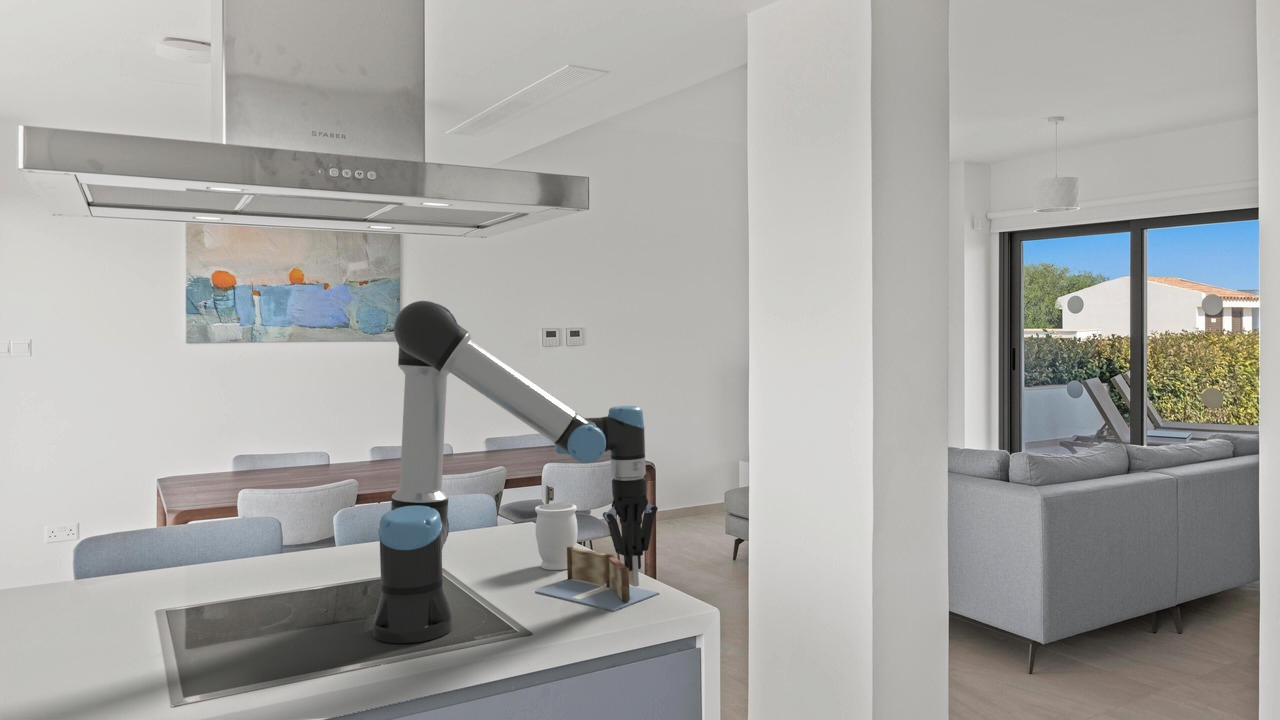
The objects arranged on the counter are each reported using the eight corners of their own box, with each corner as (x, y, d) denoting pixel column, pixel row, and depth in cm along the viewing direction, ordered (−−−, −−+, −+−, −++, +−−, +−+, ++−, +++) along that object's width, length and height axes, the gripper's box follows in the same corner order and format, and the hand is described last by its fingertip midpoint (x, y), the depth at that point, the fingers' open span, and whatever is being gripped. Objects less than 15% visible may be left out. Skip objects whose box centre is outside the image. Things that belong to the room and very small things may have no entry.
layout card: (535, 592, 195) (535, 590, 195) (581, 577, 206) (581, 575, 206) (614, 611, 180) (614, 609, 180) (659, 594, 191) (659, 592, 191)
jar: (572, 572, 211) (571, 510, 210) (531, 571, 212) (529, 510, 212) (582, 561, 221) (581, 502, 221) (543, 560, 223) (541, 502, 222)
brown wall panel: (565, 579, 205) (564, 547, 204) (571, 577, 206) (570, 546, 206) (611, 589, 196) (610, 556, 195) (617, 587, 197) (616, 554, 197)
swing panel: (609, 587, 195) (608, 556, 195) (615, 586, 196) (615, 555, 196) (623, 602, 184) (622, 569, 184) (630, 601, 184) (629, 568, 184)
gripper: (612, 483, 183) (617, 594, 184) (662, 475, 190) (667, 583, 190) (595, 478, 189) (599, 586, 190) (644, 471, 196) (648, 575, 197)
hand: (633, 584), depth 190 cm, fingers closed
